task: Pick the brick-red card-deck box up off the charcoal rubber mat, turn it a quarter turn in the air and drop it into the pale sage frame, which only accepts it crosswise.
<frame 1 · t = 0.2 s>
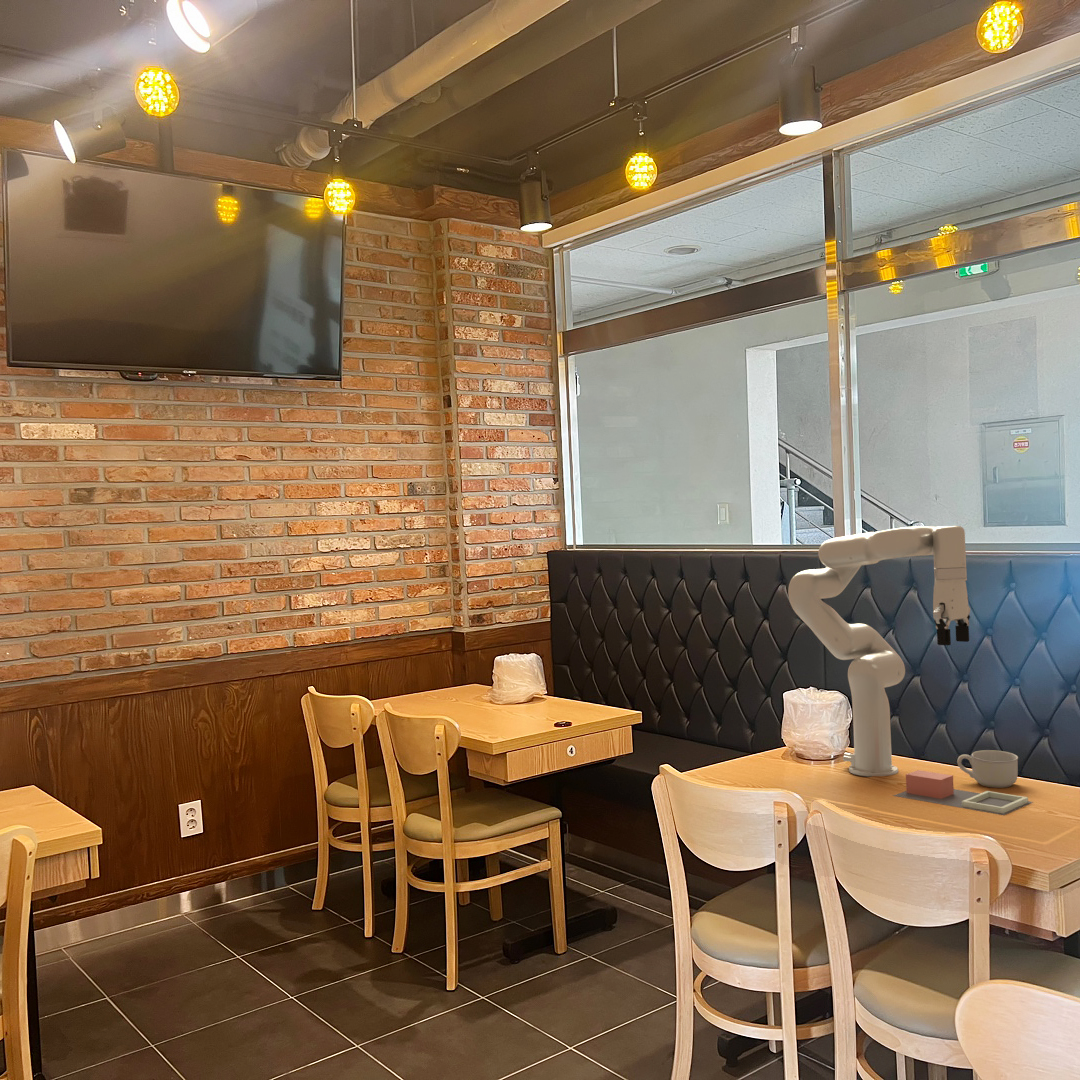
hand: (953, 643, 257), 36 cm above the table, tool pointing down, fingers open, 9 cm apart
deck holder: (995, 804, 238), resting on play mat
teacup: (988, 786, 257), on the table
play mat: (961, 800, 244), on the table
card deck: (930, 793, 250), resting on play mat
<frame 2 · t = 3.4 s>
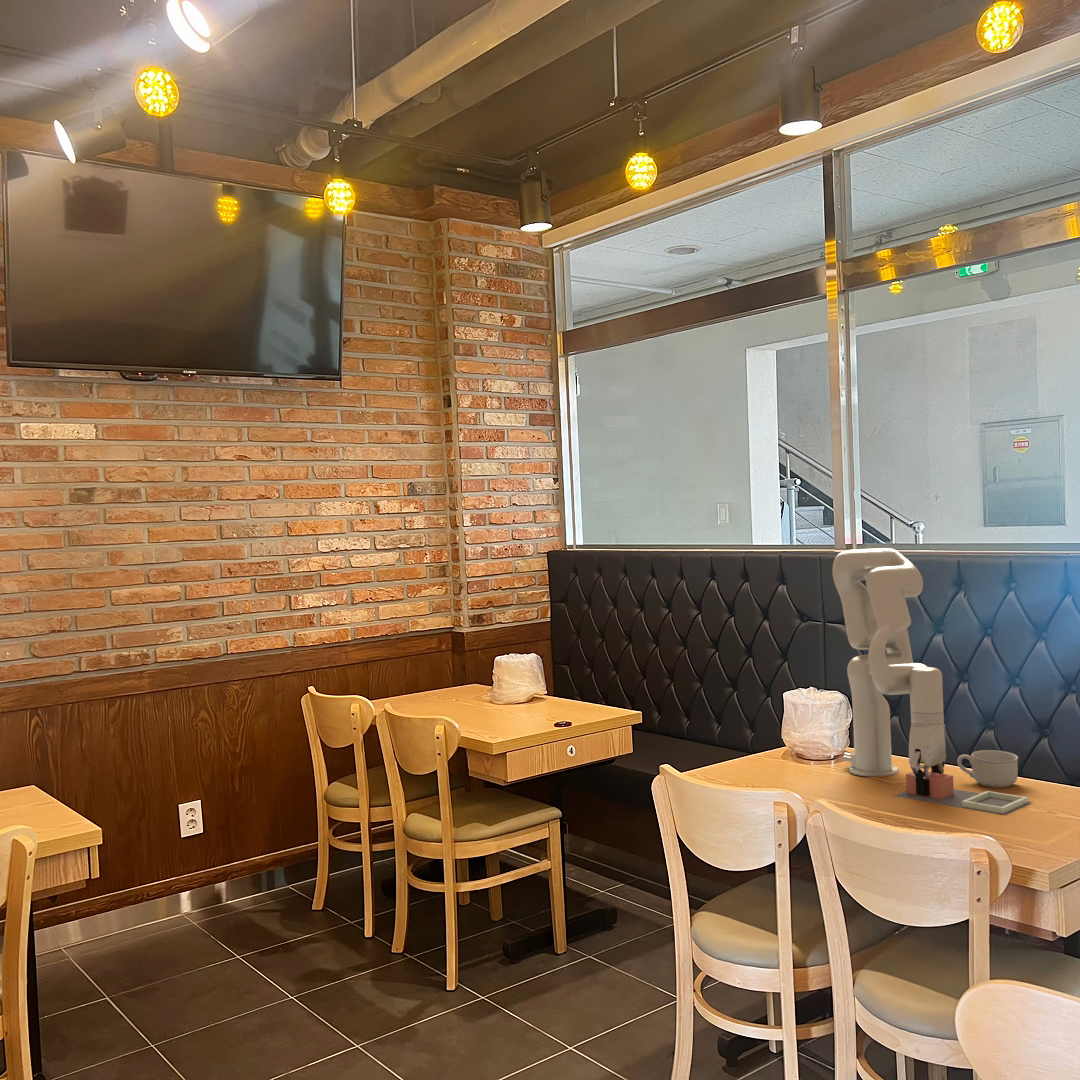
hand: (929, 791, 250), 1 cm above the table, tool pointing down, fingers closed on card deck, 6 cm apart
card deck: (930, 793, 250), resting on play mat, touching gripper
everything else where it was.
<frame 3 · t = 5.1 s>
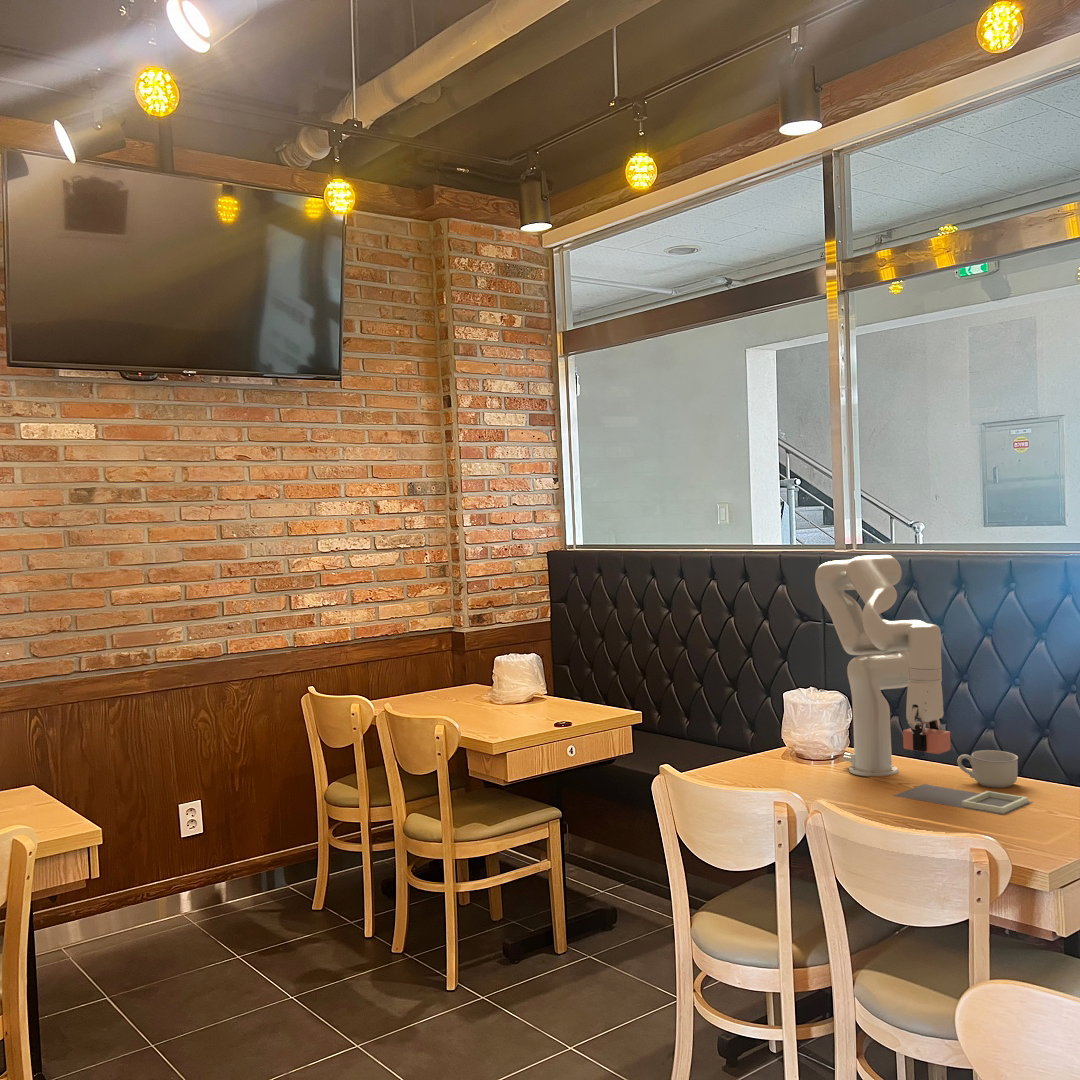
hand: (926, 747, 251), 12 cm above the table, tool pointing down, fingers closed on card deck, 6 cm apart
card deck: (926, 749, 251), point 11 cm above the table, touching gripper
everything else where it was.
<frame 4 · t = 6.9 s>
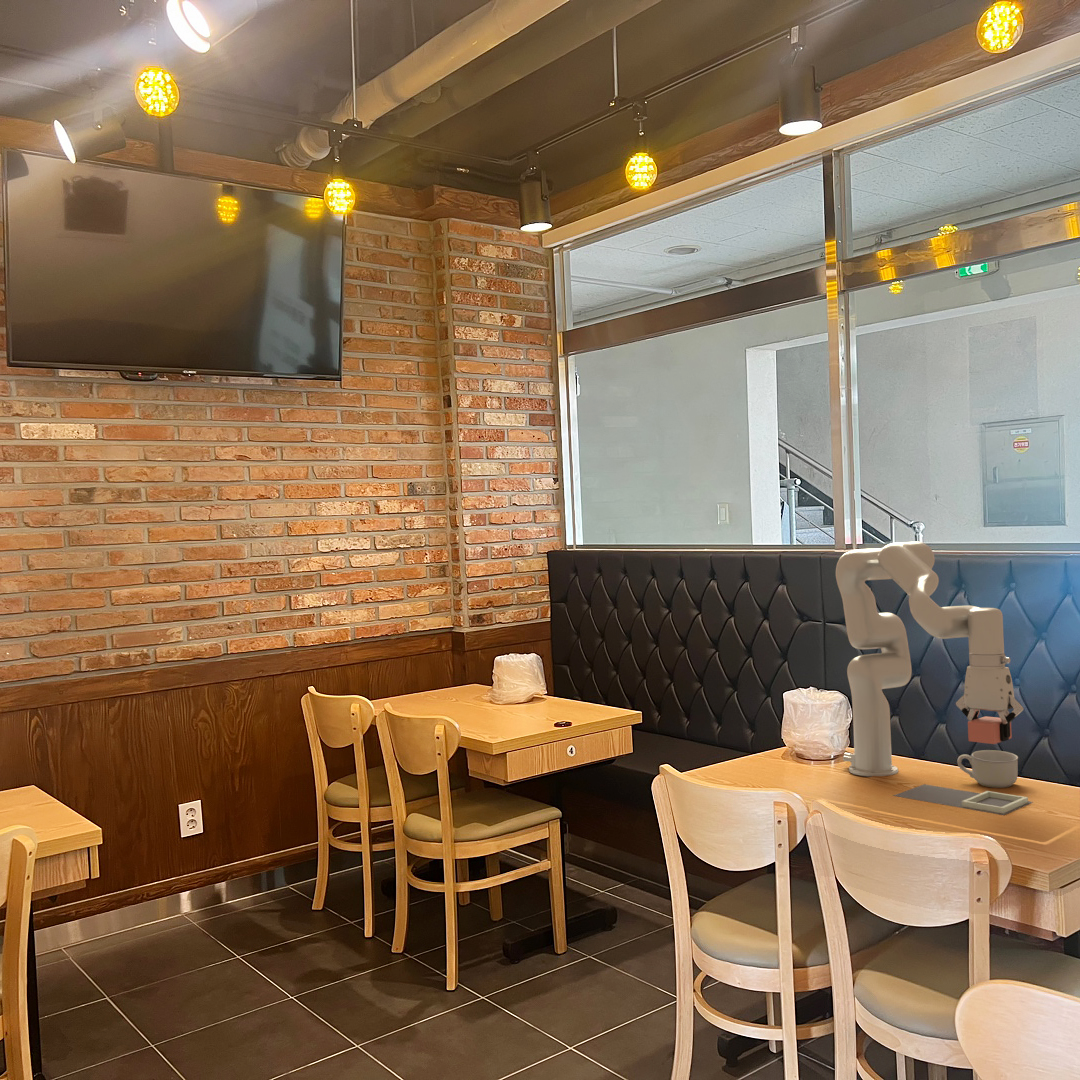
hand: (990, 738, 238), 16 cm above the table, tool pointing down, fingers closed on card deck, 6 cm apart
card deck: (990, 739, 238), point 15 cm above the table, touching gripper
everything else where it was.
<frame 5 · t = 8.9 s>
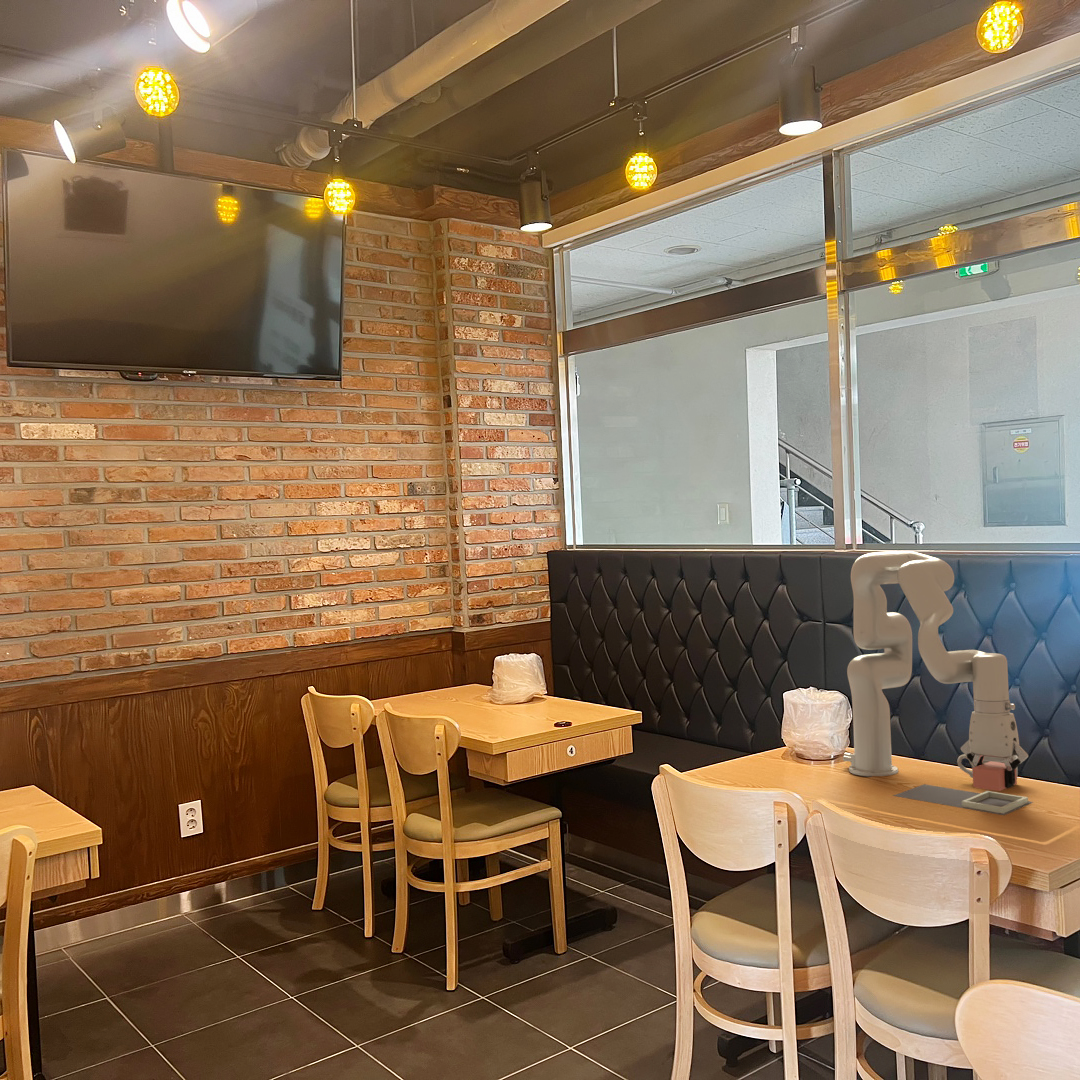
hand: (995, 784, 238), 5 cm above the table, tool pointing down, fingers closed on card deck, 6 cm apart
card deck: (995, 785, 238), point 5 cm above the table, touching gripper
everything else where it was.
when the fingers open (2 cm above the table, at t = 10.4 s): card deck drops 1 cm, resting on play mat.
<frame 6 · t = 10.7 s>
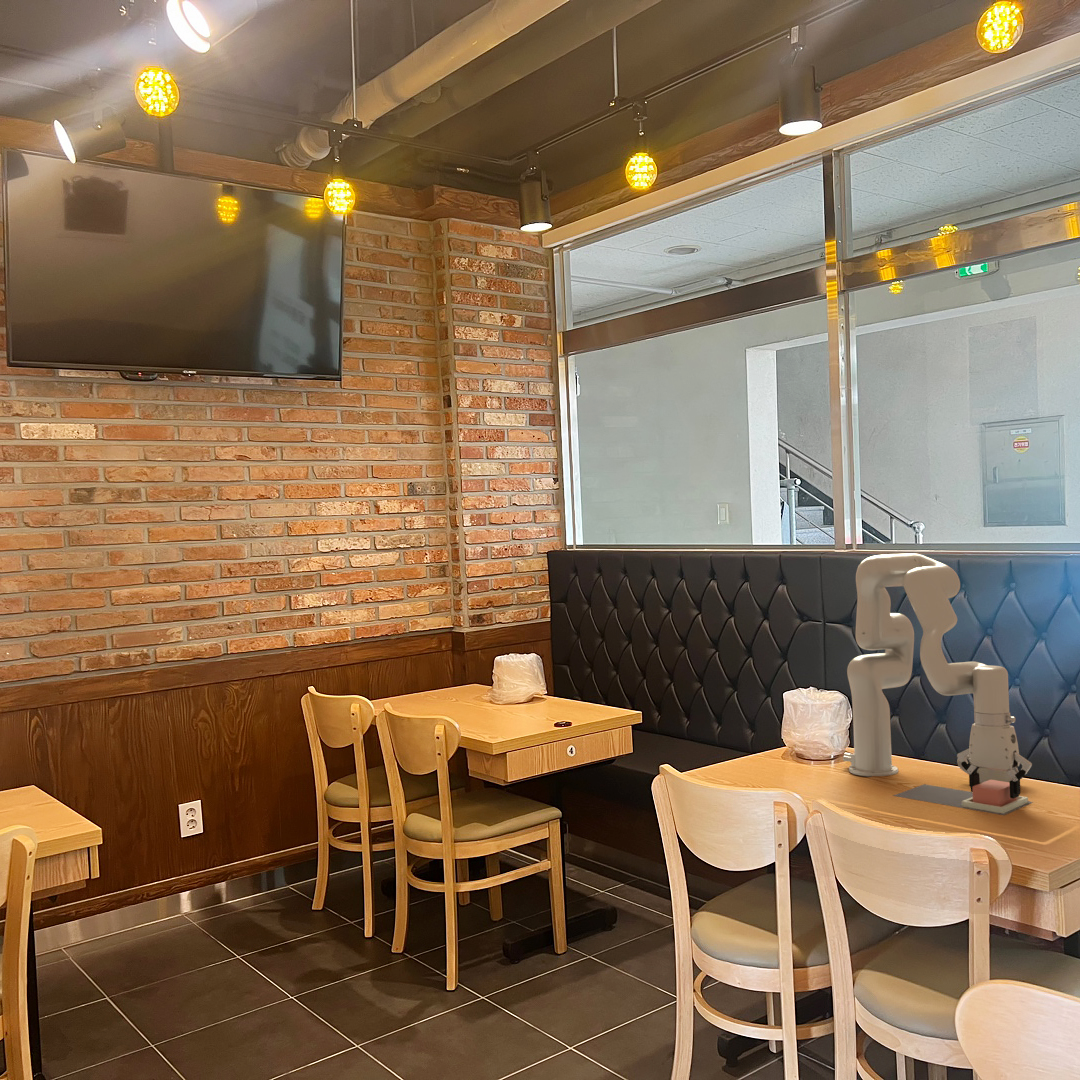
hand: (994, 793, 238), 3 cm above the table, tool pointing down, fingers open, 8 cm apart
card deck: (994, 804, 238), resting on play mat
everything else where it was.
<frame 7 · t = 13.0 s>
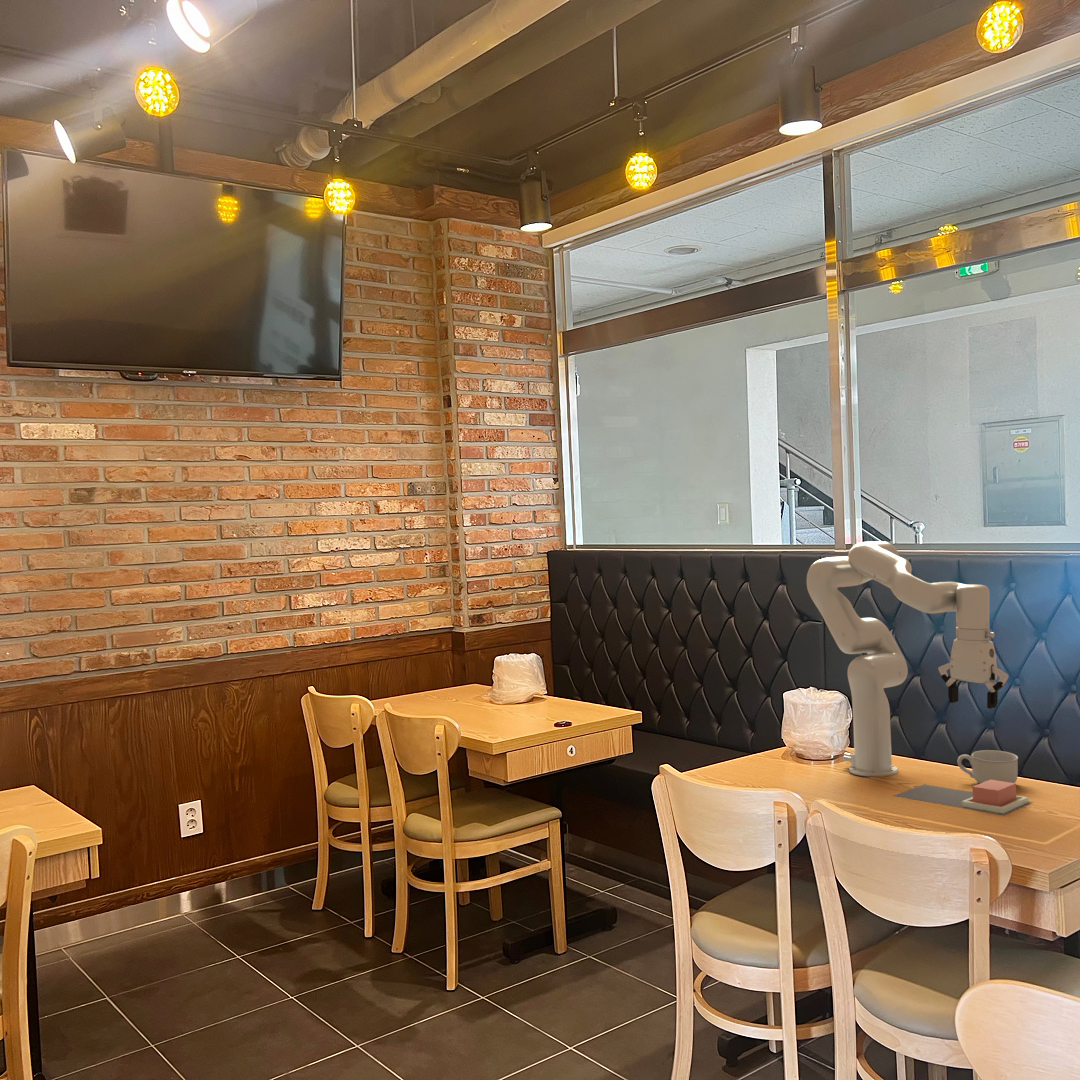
hand: (972, 704, 251), 22 cm above the table, tool pointing down, fingers open, 9 cm apart
nothing on the table moved.
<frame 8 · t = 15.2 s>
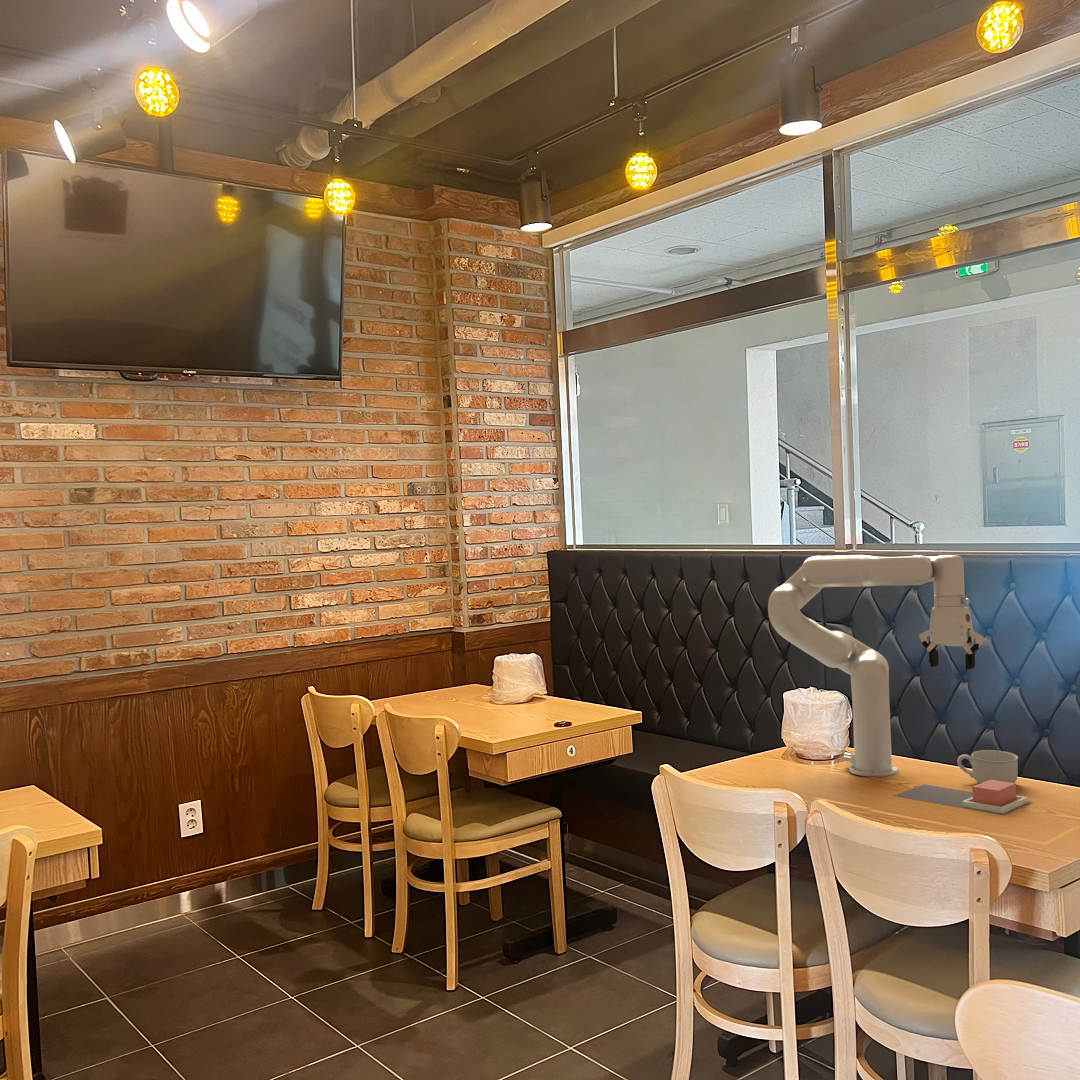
hand: (952, 667, 269), 28 cm above the table, tool pointing down, fingers open, 9 cm apart
nothing on the table moved.
at the end: card deck 0.1 cm off-centre on the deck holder, point 0.0 cm above the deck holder's base; card deck tilted 0°; the gripper is holding nothing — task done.
